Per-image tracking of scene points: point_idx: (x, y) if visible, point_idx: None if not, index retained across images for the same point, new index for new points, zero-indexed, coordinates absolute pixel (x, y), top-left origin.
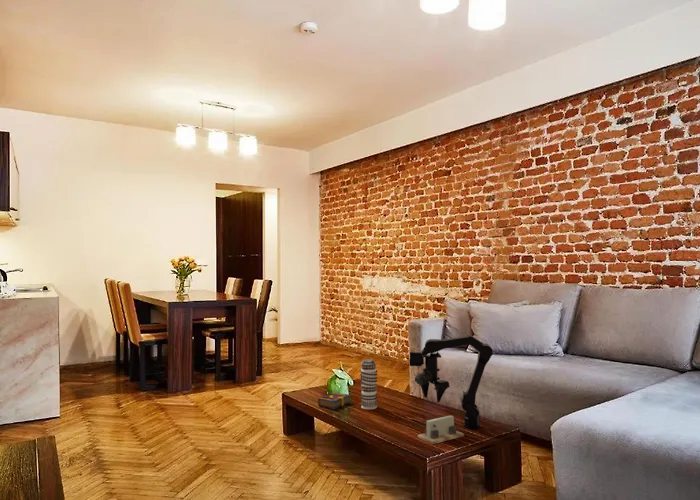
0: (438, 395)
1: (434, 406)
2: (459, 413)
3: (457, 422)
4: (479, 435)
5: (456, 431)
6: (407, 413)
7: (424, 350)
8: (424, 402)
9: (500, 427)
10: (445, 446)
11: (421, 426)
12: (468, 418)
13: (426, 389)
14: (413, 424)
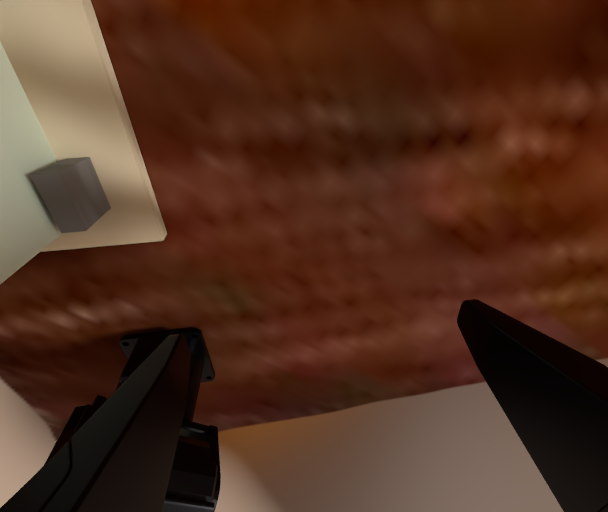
0: (65, 451)
1: None
2: (365, 390)
3: (264, 332)
4: (13, 321)
5: (59, 239)
6: (582, 185)
7: None
8: (589, 349)
9: None
10: None
11: (316, 99)
12: (120, 379)
13: (548, 434)
14: (394, 67)
